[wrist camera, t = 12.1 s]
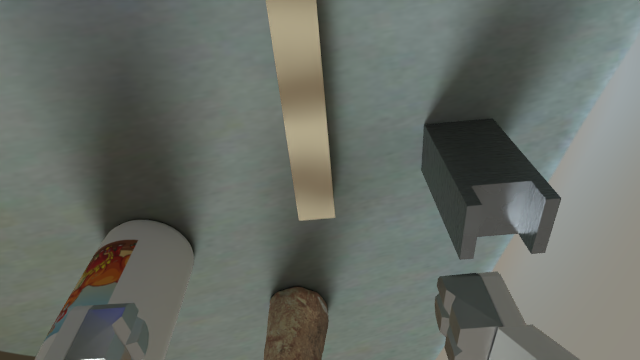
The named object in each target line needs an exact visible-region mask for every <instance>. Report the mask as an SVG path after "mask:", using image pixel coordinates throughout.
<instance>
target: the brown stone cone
mask: <svg viewBox="0 0 640 360" xmlns="http://www.w3.org/2000/svg"><path fill="white" fill-rule="evenodd" d="M327 329H328V308H327V304H326V302H325V301H324V299H322V297H321V296H320V295H319V294H318V293H317V292H314V291H311V290H307V289H305V288H303V287H293V288H289V289H286V290H283V291H281V292H280V291H279V292H277V293H275V295H274V296H273V297H272V298H271V300H270V309H269V316H268V327H267V337H266V345H265V350H264V360H321V358H322V353H323V350H324V344H325V338H326V334H327Z"/></svg>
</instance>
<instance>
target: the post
mask: <svg viewBox="0 0 640 360" xmlns="http://www.w3.org/2000/svg"><path fill="white" fill-rule="evenodd" d="M421 171H422V173H423V175H424V178H425V180H426V182H427V185H428V187H429V189H430V192H431V194H432V196H433V199H434V201H435V203H436V206H437V208H438V210H439V213H440V215H441V217H442V220H443V222H444V224H445V227H446V229H447V231H448V233H449V236H450V238H451V240H452V243H453V245H454V247H455V250H456V252H457V254H458V257H459V259H460V260H461V259H473V257H474V251H475V246H476V240H477V237H482V236H494V235H506V234H519V235H520V237H521V238H522V240H523V242H524V243H525V245H526V246H527V248H528V250H529V251H530V253H531V254H535V253H545V251H546V247H547V244H548V241H549V237H550V234H551V231H552V228H553V224H554V221H555V217H556V214H557V211H558V208H559V204H560V201H561V197H560V196H559V195H558V194H557V193H556V192H555V190H554V189H553V188H552V187H551V186H550V185H549V184H548V182H547V181H546V180H545V179H544V178H543V177H542V175H541V174H540V173H539V172H538V171H537V170H536V168H535V167H534V166H533V165H532V164H531V163H530V161H529V160H528V159H527V158H526V157H525V156H524V154H523V153H522V152H521V151H520V150H519V149H518V147H517V146H516V145H515V144H514V143H513V142H512V141H511V139H510V138H509V137H508V136H507V135H506V134H505V132H504V131H503V130H502V129H501V128H500V127H499V125H498V124H497V123H496V122H495V121H494V120H493V119H483V120H472V121H461V122H449V123H438V124H427V125H424V136H423V152H422V169H421Z"/></svg>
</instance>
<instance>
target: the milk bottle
mask: <svg viewBox="0 0 640 360" xmlns="http://www.w3.org/2000/svg"><path fill="white" fill-rule="evenodd" d="M193 265H194V254H193V250H192V248H191V246H190V243H189V242H188V241H187V239H186V238H185V237H184V236H183V235H182V234H181V233H180V232H179V231H177V230H176V229H174V228H173V227H170V226H168V225H166V224H164V223H160V222H157V221H152V220H132V221H128V222H125V223H122V224H120V225H119V226H117V227H115V228H113V229H112V230H111V231H110V232H109V233H108V234H107V236H106V237H105V239H104V240H103V242H102V243H101V245H100V246H99V248H98V250H97V251H96V253H95V255H94V256H93V258H92V260H91V261H90V263H89V265H88V266H87V268H86V270H85V271H84V273H83V275H82V277H81V278H80V280H79V282H78V283H77V285H76V287H75V288H74V290H73V292H72V293H71V295H70V297H69V298H68V300H67V302H66V304H65V305H64V307H63V309H62V310H61V312H60V314H59V316H58V317H57V319H56V321H55V322H54V324H53V326H52V328H51V329H50V331H49V333H48V335H47V337H46V339H45V341H44V342H43V344H42V346H41V348H40V350H39V352H38V354H37V356H36V358H35V360H43V359H44V357H45V356H46V354H47V352H48V350H49V348H50V346H51V345H52V343H53V341H54V339H55V337H56V335H57V333H58V332H59V330H60V328H61V326H62V324H63V322H64V321H65V319H66V317H67V315H68V313H69V312H70V311H71V310H72V309H73V308H74V307H75V306H88V305H104V304H121V303H135V305H136V307H137V308H138V310H139V312H138V314H137V317H139V318H141V319H142V320H144V321H145V323H146V324H147V326H148V331H149V342H148V348H147V351H146V354H145V356H144V357H143V358H142V359H141V360H164V358H165V355H166V352H167V349H168V346H169V343H170V340H171V337H172V334H173V330H174V327H175V324H176V321H177V318H178V315H179V311H180V308H181V305H182V302H183V298H184V295H185V292H186V289H187V285H188V282H189V279H190V276H191V272H192V268H193Z"/></svg>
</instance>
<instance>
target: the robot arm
mask: <svg viewBox="0 0 640 360" xmlns="http://www.w3.org/2000/svg"><path fill="white" fill-rule="evenodd" d="M437 287H438V291H439V294H438V295H437V296H436V297H435V314H436V319H437V324H438V327H439V330H440V332H441V333H442V334H443V335H444V336H445V337H446V342H445V350H446V353H447V356H448V359H449V360H580V359H578V358H577V357H576V356H574V355H573V354H572V353H570V352H569V351H567V350H566V349H565V348H563V347H562V346H561V345H559V344H558V343H557V342H555V341H554V340H553V339H551V338H550V337H549V336H547V335H546V334H544V333H543V332H542V331H540V330H539V329H537V328H536V327H535V326H533V325H526V323H525V321H524V319H523V317H522V315H521V313H520V312H519V310H518V308H517V306H516V304H515V302H514V300H513V298H512V296H511V294H510V292H509V290H508V288H507V286H506V284H505V283H504V280H503V278H502V277H501V275H500V274H499V273H498V272H486V273H470V274H460V275H450V276H440V277H439V278H438V282H437ZM138 312H139V310H138V308H137V307H136V305H135V303H121V304H104V305H88V306H75V307H74V308H73V309H72V310H71V311H70V312H69V313H68V315H67V317H66V319H65V321H64V322H63V324H62V326H61V328H60V330H59V332H58V333H57V335H56V337H55V339H54V341H53V343H52V345H51V346H50V348H49V350H48V352H47V354H46V356H45V357H44V359H43V360H141V359H142V358H143V357H144V356H145V354H146V351H147V348H148V342H149V331H148V326H147V324H146V323H145V321H144V320H142V319H141V318H139V317H137V314H138Z"/></svg>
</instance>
